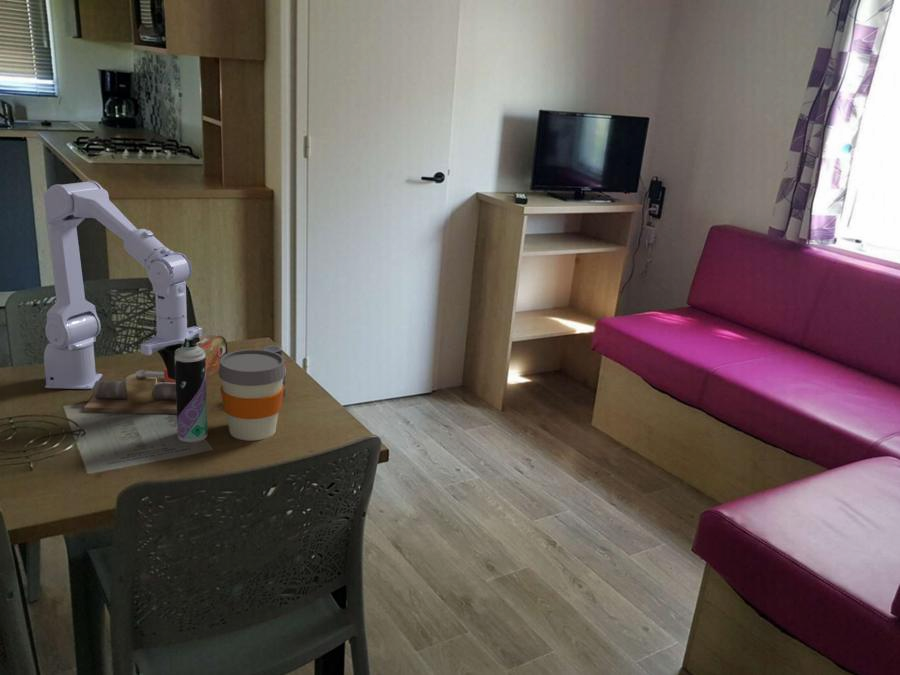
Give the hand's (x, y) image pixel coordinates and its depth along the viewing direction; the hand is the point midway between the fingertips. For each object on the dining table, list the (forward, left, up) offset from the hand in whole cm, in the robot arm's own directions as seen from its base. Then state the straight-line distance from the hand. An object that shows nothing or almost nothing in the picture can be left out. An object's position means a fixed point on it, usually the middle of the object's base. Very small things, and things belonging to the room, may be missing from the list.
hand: (174, 378), depth 156 cm
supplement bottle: (+19, +8, -7) cm, 22 cm away
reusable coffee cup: (+17, -9, -7) cm, 21 cm away
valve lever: (-3, +2, -1) cm, 4 cm away
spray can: (+6, -12, -7) cm, 15 cm away
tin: (+3, +20, -7) cm, 21 cm away
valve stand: (-7, +3, -7) cm, 10 cm away
